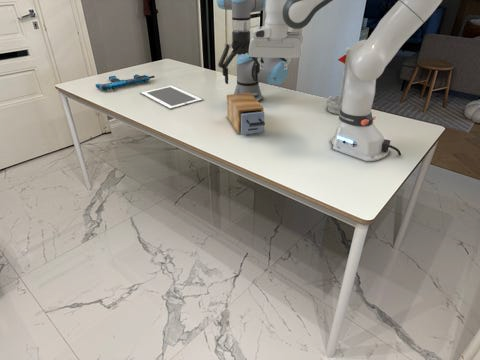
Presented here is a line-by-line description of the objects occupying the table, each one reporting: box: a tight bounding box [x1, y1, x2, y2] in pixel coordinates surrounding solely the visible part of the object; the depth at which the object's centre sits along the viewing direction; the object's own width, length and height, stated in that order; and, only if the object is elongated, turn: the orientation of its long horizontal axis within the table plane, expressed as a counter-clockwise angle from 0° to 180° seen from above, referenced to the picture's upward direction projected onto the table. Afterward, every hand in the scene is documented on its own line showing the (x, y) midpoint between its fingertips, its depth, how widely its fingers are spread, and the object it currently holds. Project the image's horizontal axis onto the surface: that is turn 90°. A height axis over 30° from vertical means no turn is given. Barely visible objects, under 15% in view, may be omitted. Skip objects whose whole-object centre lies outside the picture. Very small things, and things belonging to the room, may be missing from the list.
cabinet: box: [226, 93, 264, 135], centre depth 153 cm, size 20×11×11 cm, turn 16°
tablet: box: [140, 85, 204, 110], centre depth 187 cm, size 32×20×1 cm, turn 41°
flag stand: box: [325, 46, 352, 115], centre depth 162 cm, size 13×13×30 cm
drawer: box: [240, 110, 266, 136], centre depth 148 cm, size 24×10×9 cm, turn 16°
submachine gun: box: [94, 74, 155, 92], centre depth 207 cm, size 34×4×25 cm
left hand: (241, 81), depth 151 cm, fingers open, 13 cm apart
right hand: (273, 68), depth 135 cm, fingers open, 8 cm apart
